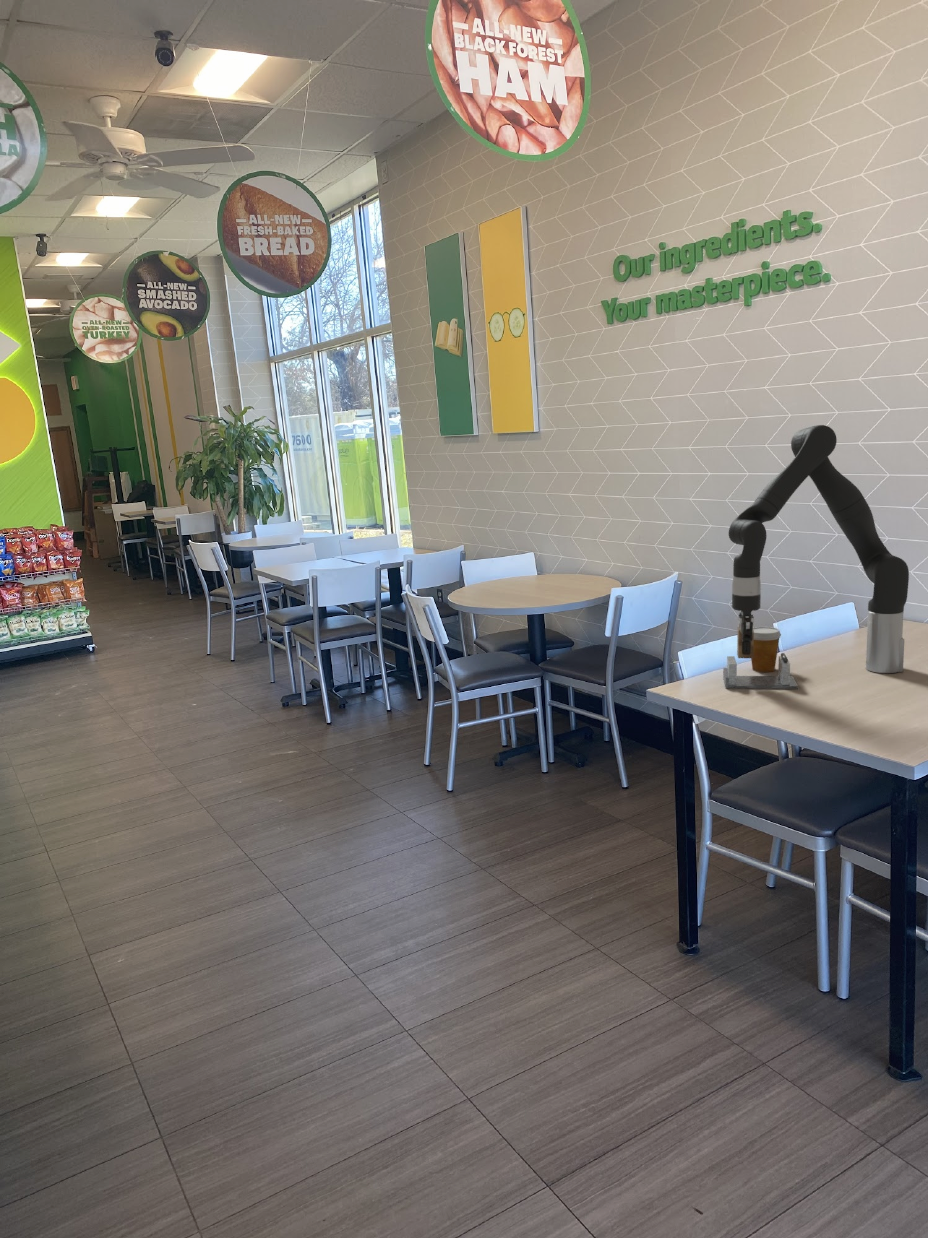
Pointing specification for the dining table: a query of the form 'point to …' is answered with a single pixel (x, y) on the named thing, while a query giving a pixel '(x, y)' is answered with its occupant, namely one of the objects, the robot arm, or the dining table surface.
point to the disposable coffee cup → (765, 648)
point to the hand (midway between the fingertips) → (745, 652)
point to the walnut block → (739, 645)
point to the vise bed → (751, 679)
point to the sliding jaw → (784, 670)
